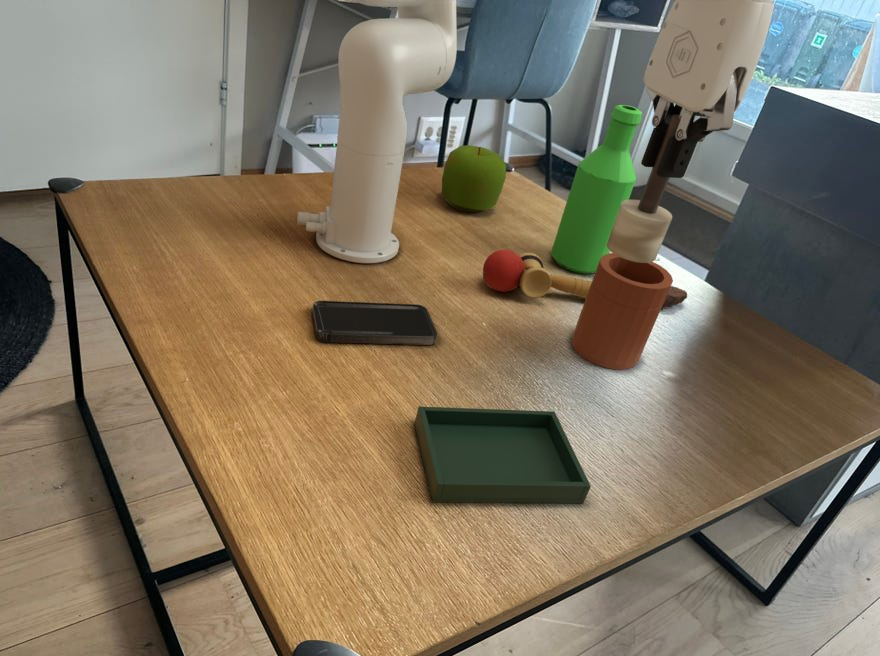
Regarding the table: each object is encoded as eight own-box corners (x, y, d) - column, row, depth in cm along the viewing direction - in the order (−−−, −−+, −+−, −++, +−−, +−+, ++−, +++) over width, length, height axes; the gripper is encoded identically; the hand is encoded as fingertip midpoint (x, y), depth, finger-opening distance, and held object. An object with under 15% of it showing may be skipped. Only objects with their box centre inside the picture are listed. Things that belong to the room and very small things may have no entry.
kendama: (583, 292, 109) (474, 264, 105) (603, 261, 105) (491, 230, 101) (592, 326, 104) (478, 297, 100) (614, 294, 99) (495, 263, 96)
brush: (618, 261, 77) (670, 123, 68) (598, 238, 81) (645, 106, 73) (664, 264, 78) (720, 129, 69) (642, 241, 82) (693, 112, 74)
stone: (632, 301, 106) (640, 283, 105) (644, 285, 112) (652, 268, 110) (675, 319, 104) (683, 300, 102) (685, 302, 110) (693, 284, 108)
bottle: (603, 281, 111) (662, 122, 97) (549, 268, 111) (599, 108, 97) (601, 258, 118) (656, 107, 104) (550, 246, 119) (597, 94, 105)
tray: (433, 502, 66) (437, 484, 64) (414, 423, 75) (418, 406, 73) (583, 503, 69) (591, 486, 67) (548, 427, 78) (554, 411, 76)
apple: (505, 219, 125) (521, 160, 119) (447, 216, 122) (461, 155, 116) (485, 194, 134) (498, 138, 128) (431, 191, 131) (442, 132, 125)
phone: (312, 300, 89) (425, 304, 93) (311, 307, 90) (424, 311, 94) (318, 334, 83) (439, 338, 87) (317, 342, 84) (437, 345, 88)
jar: (585, 367, 89) (616, 285, 82) (562, 329, 96) (589, 250, 90) (649, 371, 91) (685, 290, 84) (622, 332, 98) (653, 255, 91)
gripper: (652, -44, 69) (592, 143, 79) (766, -13, 57) (678, 202, 67) (712, -33, 71) (647, 146, 81) (834, -2, 59) (739, 203, 70)
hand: (662, 170), depth 74 cm, fingers closed on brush
